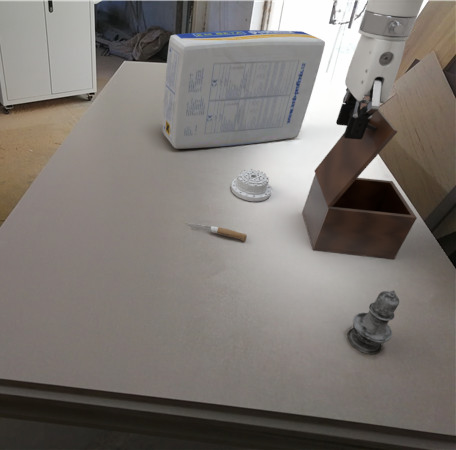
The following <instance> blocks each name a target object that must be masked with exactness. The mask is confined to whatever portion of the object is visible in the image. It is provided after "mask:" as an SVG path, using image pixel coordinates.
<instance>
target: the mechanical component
mask: <svg viewBox="0 0 456 450" xmlns="http://www.w3.org/2000/svg"><path fill="white" fill-rule="evenodd" d="M269 178H270V177H268V176H267V174H266V173H264V171H260V170H254V169H251V168H250V169H247V170H246V169H244V170H241V171H239V173H238V174H237V177H235V178H234V179H233V180H232V181H231V184H230V190H231V192H232V194H233V195H235V196H236V197H237V198H240V199H241V200H243V201H250V202H262V201H263V202H264V201H265V200H267V199H269V198H270V197H271V194H272V190H273V189H272V186H271V185H270V184H269V183H270V182H269V181H270V180H269Z"/></svg>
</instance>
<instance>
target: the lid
mask: <svg viewBox="0 0 456 450" xmlns="http://www.w3.org/2000/svg"><path fill="white" fill-rule="evenodd" d="M367 105H368V104H365V106H367ZM354 109H355V108H354ZM354 109H352V110H350V112H349V116H353V113H354ZM397 134H398V130H397V129H396V128H395V126H394V125H393V124H392V123H391V122H390V121H389V119H388V118H387V117H386V116H385V115H384V114H383V112H382V111H381V110H380V108H379V109H378V110H377V111H375V112H374V113H373V114H372V117H371V119H370V120H369V122H368V125H367V128H366V130H365V133H364V135H363V138H362V139H349V138H345V137H344V133H343V134H342V135H341V136H340V138H339V139H338V140H337V141H336V143H335V144H334V145H333V147H331V149H330V150H329V152H328V153H327V154H326V155H325V156H324V158H323V159H322V160H321V162H320V163H319V164H318V165H317V167H316V168H315V169H314V175H315V174H316V176H317V179H318V182H319V184H320V187H321V189H322V192H323V195H324V197H325V200H326V202H327V205H328V206H329V207H332V206H333V205H334V204H335V202H336V201H337V200H338V199H339V198H340V197H341V196H342V195H343V193H344V192H345V191H346V190H347V189H348V188H349V187H350V185H351V184H352V183H353V182H354V181H355V180H356V179H357V178H359V176H360V175H361V174H362V173H363V172H364V171H365V170H366V169H367V168H368V167H369V166H370V164H371V163H372V162H373V161H374V160H375V158H376V157H377V156H378V155H379V154H380V153H381V151H382V150H383V149H384V148H385V147H386V146H387V145H388V144H389V142H390V141H392V139H393V138H394V137H395V135H397Z"/></svg>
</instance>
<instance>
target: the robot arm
mask: <svg viewBox="0 0 456 450" xmlns="http://www.w3.org/2000/svg"><path fill="white" fill-rule="evenodd" d="M423 2H424V0H368V1H367V4H366V7H365V10H364V13H363V16H362V19H361V21H360V22H361V23H360V25H359V29H358V33H359V35H360V37H359V40H358V42H357V44H356V47H355V50H354V52H353V54H352V58H351V60H350V63H349V66H348V69H347V72H346V77H345V81H344V84H345V86H346V89H345V94H344V96H343V99H342V103H341V106H340V110H339V112H338V115H337V118H336V122H335V123H336V125H337V126H343V127H345V130H344V133H343V134H344V137H345V138H349V139H362V138H363V135H364V133H365V130H366V128H367V125H368V122H369V120H370V119H371V117H372V114H373V113H374V112H375V111H377V110H378V109H379V110H380V107H381V106H380V104H385V103H386V102H388V100H389V98H390V95H391V92H392V89H393V87H394V84H395V81H396V78H397V75H398V73H399V69H400V66H401V63H402V60H403V55H404V53H405V47H406V41H407V40H409V38H410V37H411V36H410V35H411V33H412V30H413V28H414V26H415V23H416V21H417V18H418V15H419V12H420V10H421V8H422V5H423ZM365 97H369V99H365ZM362 104H365V105H364V106H362ZM367 104H368V105H367ZM366 105H367V106H366ZM354 108H355V109H354ZM352 109H354V113H353V116H349V112H350V110H352Z"/></svg>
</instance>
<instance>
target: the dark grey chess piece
mask: <svg viewBox="0 0 456 450" xmlns="http://www.w3.org/2000/svg"><path fill="white" fill-rule="evenodd" d="M399 305H400V298H399V296H398V295H397V294H396V292H395V290H390V291H388V290H383V291H381V292H380V293H378V295H377V297H376V299H375V301H374V302H372V303H370V304H369V306H368V312H359V313H357V314H355V315H354V316H353V319H352V326H353V327H352V328H350V329H349V330H348V332H347V339H348V341H349V343H350V344H351V346H352V347H353V348H354V349H356V350H357V351H359V352H361V353H363V354H366V355H376V354H378V353H380V351H381V350H382V346H383V344H384V343H386V342H389V341H390V340H391V338H392V337H393V330H392V329H391V326H390V325H389V322H390V321H392V320H394V319H395V312H396V310H397V308H398V306H399Z"/></svg>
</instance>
